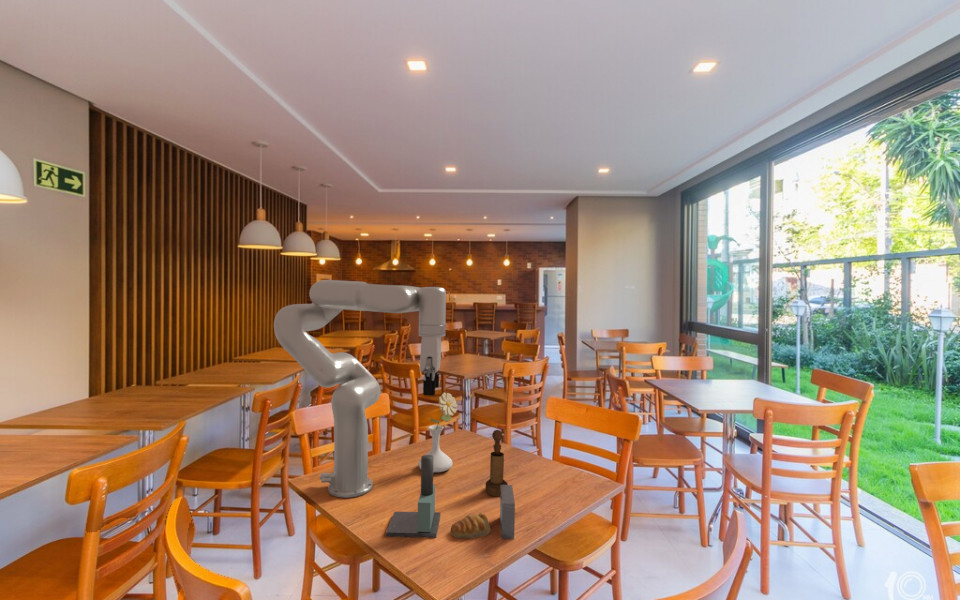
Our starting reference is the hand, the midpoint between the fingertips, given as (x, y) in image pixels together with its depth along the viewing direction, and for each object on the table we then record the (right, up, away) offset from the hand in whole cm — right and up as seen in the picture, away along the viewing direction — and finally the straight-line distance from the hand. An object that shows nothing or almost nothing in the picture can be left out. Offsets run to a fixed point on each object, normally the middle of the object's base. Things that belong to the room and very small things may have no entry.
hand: (431, 391), depth 123 cm
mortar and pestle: (+19, -31, +5) cm, 36 cm away
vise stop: (+20, -31, -15) cm, 40 cm away
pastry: (+12, -31, -17) cm, 37 cm away
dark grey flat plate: (-3, -31, -15) cm, 34 cm away
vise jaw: (0, -29, -15) cm, 33 cm away
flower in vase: (0, -30, +21) cm, 37 cm away
